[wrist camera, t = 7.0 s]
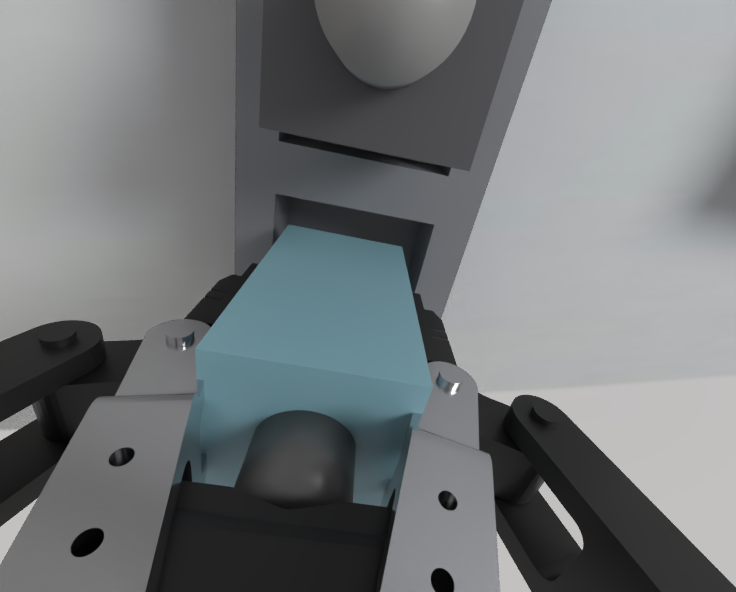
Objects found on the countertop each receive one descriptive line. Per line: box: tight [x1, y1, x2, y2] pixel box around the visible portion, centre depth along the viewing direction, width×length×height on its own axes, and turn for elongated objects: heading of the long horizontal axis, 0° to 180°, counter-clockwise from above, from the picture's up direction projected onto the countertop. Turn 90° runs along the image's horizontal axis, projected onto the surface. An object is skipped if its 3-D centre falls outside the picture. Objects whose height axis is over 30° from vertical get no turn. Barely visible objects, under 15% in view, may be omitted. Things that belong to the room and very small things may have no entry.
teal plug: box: [195, 225, 433, 510], centre depth 9 cm, size 4×4×8 cm
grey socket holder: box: [235, 0, 552, 319], centre depth 13 cm, size 16×8×4 cm, turn 169°
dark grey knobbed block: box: [259, 0, 524, 171], centre depth 8 cm, size 4×4×8 cm
